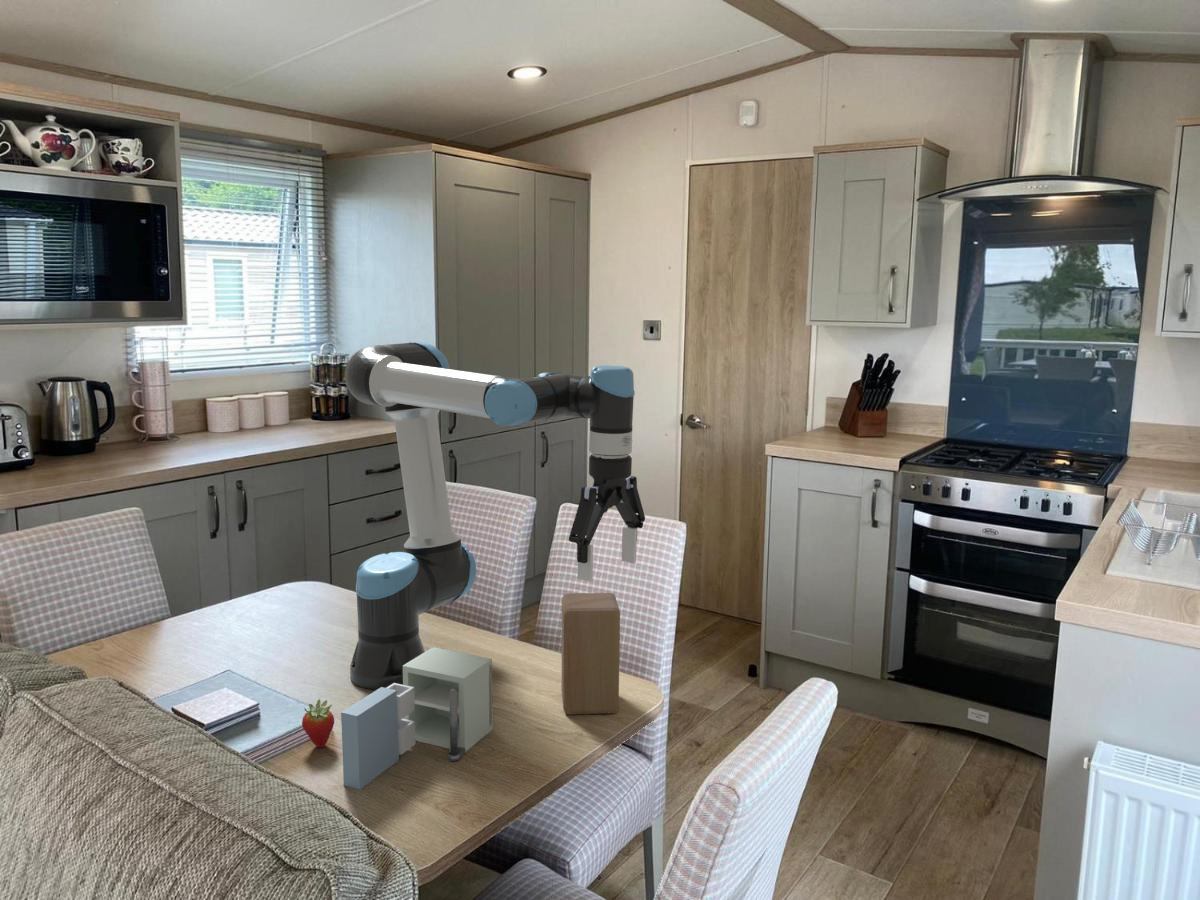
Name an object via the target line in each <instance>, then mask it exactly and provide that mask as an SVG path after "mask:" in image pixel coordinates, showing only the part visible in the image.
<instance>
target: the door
mask: <svg viewBox="0 0 1200 900" xmlns="http://www.w3.org/2000/svg"><path fill="white" fill-rule="evenodd" d="M414 710H415V702H414V687H411V686H406V685H401V684H397V683H393V684H391V685H390V686H388V687H387V688H384V687H381V688H379V689H377V690H376V689H375V690H374V691H373V692H371V693H370V694H369V695H366V696H364V698H361V699H360V700H359V701H357V702H355V703H353V704H352V705H351V706H349V707H347V708H345V709H344V710H342V711H341V713H340V718H341V719H340V722H341V723H340V724H341V742H342V744H341V745H342V746H341V747H342V748H341V749H342V773H343V776H342V777H343V786H345V787H349V788H353V789H355V790H356V789H357V790H361V789H363V788H364V787H365V786H366V785H367V784H369V783H370V782H371V781H373V780H375V778H377V777H378V776H379V775H382V773H384V772H385V771H386V770H387V769H389V768H390V767H391V766H393V765H394V764H395V763H397V762H398V761H399V759H400V758H399V757H400V755H401V756H402V755H403V754H404V753H405V752H407V751H408V750H409V749H411V748H412V747H413V746H415V745H416V740H415V721H411V720H407V719H404V717H405V716H407V715H408V714H410V713H411V712H413V711H414Z"/></svg>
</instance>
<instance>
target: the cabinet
mask: <svg viewBox="0 0 1200 900" xmlns="http://www.w3.org/2000/svg"><path fill="white" fill-rule="evenodd" d="M403 685H406V686H411V687H414V702H415V710H414V711H413V712H411V713H410V714H408V715H407V716H405V717H404V718H403V719H407V720H411V721H415V742H419V743H425V744H428V745H431V746H432V745H433V746H436V747H437V746H438V747H440V748H444V749H445V748H446V749H449V750H450V702H449V692H450V690H451V689H456V691H457V734H458V747H462V748H465V753H466V752H467V751H469V750H470V749H471V748H473V746H475V745H476V744H477V743H478V742H479V741H481V740H482V739H483V738H484V737H486V736H487V735H488V734H489V733H490V732H492V730H493V658H490V657H485V656H480V655H474V654H469V653H464V652H459V651H456V650H449V649H446V648H445V649H444V648H439V647H434V646H433V647H430V648H429V649H427V650H426V651H425V652H424V653H423V654H421V655H419V656H418V657H416V658H414V659H413V660H411V661H409V662H408V663H406V664H405V665H403Z"/></svg>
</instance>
